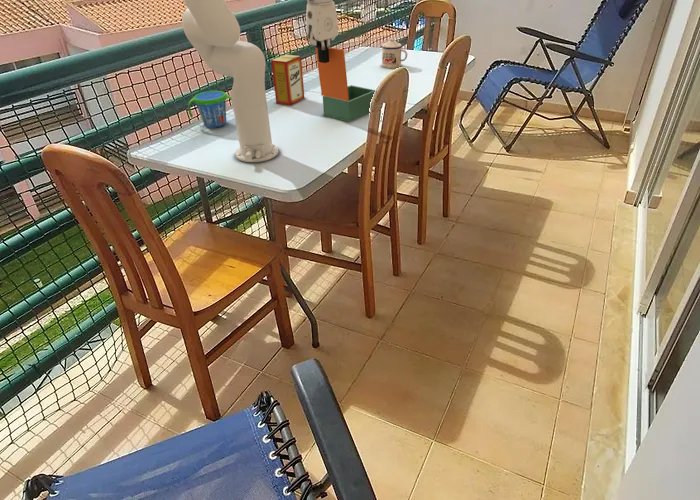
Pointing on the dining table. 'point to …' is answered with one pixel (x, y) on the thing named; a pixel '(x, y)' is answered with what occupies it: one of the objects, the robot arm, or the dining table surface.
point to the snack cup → (211, 107)
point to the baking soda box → (288, 79)
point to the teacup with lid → (392, 54)
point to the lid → (333, 75)
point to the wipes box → (349, 104)
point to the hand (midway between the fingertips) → (324, 61)
